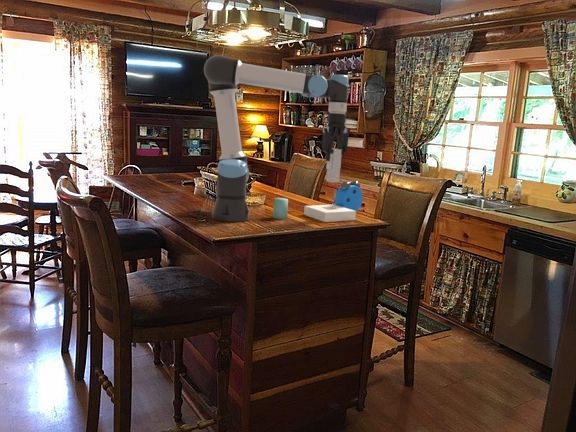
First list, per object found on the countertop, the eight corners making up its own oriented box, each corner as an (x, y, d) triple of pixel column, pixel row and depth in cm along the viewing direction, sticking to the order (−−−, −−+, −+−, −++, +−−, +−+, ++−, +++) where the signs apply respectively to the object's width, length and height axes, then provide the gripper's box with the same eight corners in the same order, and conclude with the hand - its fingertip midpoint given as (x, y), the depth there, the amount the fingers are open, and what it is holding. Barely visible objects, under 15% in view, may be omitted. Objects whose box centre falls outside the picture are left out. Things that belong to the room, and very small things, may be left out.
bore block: (324, 222, 205) (325, 212, 205) (304, 214, 219) (304, 205, 218) (355, 220, 213) (356, 210, 213) (333, 213, 227) (334, 204, 226)
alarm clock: (352, 211, 235) (354, 179, 232) (362, 213, 230) (365, 181, 228) (333, 213, 226) (335, 180, 224) (343, 215, 222) (345, 182, 219)
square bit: (331, 182, 210) (333, 149, 208) (326, 181, 214) (328, 148, 211) (339, 182, 212) (341, 149, 210) (333, 181, 216) (335, 148, 213)
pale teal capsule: (277, 219, 205) (278, 200, 203) (270, 216, 210) (271, 198, 209) (289, 218, 208) (290, 200, 207) (282, 216, 213) (283, 197, 212)
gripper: (325, 112, 200) (321, 169, 205) (358, 114, 209) (354, 169, 213) (315, 111, 206) (311, 167, 211) (348, 114, 215) (344, 167, 219)
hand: (333, 168), depth 212 cm, fingers closed on square bit, 4 cm apart
